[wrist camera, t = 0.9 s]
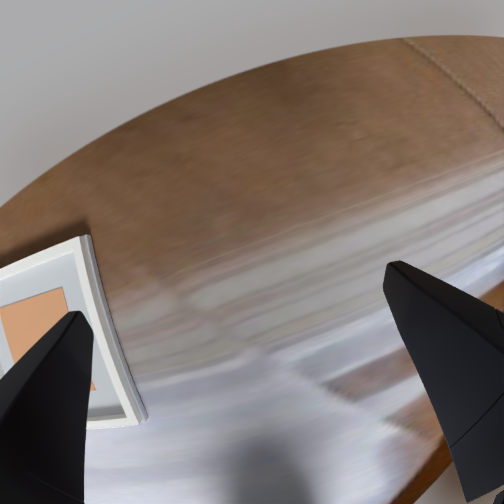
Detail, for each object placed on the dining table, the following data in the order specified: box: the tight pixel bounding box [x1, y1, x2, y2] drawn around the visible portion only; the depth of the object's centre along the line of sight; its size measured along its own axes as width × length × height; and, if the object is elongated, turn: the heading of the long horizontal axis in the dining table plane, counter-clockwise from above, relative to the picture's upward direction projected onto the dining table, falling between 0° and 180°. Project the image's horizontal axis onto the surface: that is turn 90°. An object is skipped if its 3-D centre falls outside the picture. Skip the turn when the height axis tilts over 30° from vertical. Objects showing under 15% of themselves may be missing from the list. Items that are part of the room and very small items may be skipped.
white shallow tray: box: [0, 234, 148, 430], centre depth 21 cm, size 16×16×2 cm
